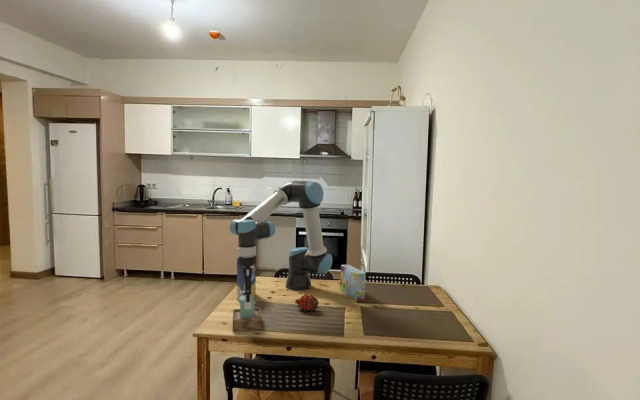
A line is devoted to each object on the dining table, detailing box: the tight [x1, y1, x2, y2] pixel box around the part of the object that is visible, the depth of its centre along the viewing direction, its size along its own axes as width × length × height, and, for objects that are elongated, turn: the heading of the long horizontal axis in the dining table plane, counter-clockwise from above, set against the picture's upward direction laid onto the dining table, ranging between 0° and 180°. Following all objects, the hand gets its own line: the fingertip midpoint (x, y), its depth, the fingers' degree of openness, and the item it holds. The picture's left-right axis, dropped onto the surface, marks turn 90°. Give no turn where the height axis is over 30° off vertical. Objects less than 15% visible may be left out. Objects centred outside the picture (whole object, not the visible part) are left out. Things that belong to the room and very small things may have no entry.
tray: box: [232, 307, 263, 332], centre depth 157 cm, size 12×12×5 cm
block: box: [239, 295, 255, 319], centre depth 156 cm, size 6×6×8 cm
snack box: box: [339, 264, 367, 302], centre depth 198 cm, size 21×6×15 cm, turn 22°
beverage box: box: [236, 254, 257, 301], centre depth 192 cm, size 7×11×22 cm, turn 174°
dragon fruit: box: [294, 293, 320, 312], centre depth 175 cm, size 8×8×12 cm
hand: (247, 303), depth 157 cm, fingers open, 13 cm apart
